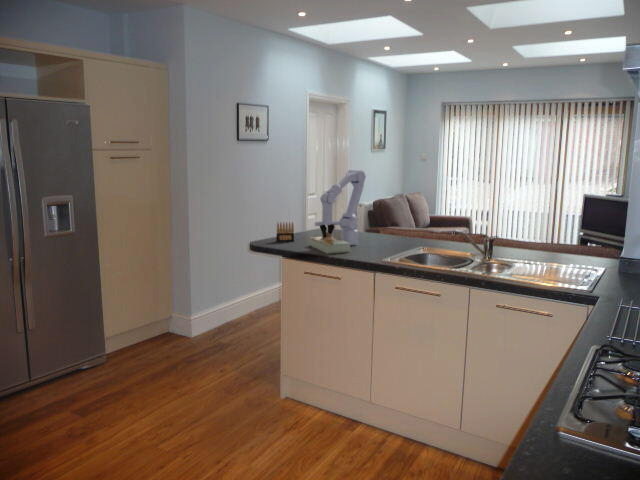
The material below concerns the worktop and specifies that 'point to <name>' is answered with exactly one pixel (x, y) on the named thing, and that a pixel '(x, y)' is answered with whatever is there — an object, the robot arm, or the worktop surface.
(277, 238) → the ammunition clip
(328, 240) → the block
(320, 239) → the lid
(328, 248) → the flat box
